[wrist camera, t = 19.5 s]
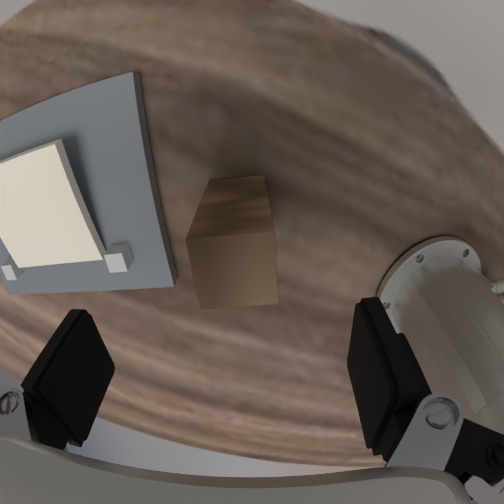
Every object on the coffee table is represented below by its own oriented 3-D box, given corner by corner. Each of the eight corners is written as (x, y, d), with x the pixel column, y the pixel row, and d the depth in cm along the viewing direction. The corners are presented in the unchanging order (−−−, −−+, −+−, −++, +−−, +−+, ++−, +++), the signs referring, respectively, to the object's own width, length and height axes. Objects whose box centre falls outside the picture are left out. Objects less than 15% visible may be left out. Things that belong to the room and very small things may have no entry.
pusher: (263, 174, 23) (274, 231, 14) (267, 224, 25) (278, 303, 16) (209, 180, 23) (185, 239, 14) (216, 229, 25) (200, 309, 16)
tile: (102, 259, 23) (106, 251, 24) (55, 143, 16) (61, 138, 17) (18, 267, 23) (23, 260, 24) (-30, 176, 17) (-24, 170, 17)
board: (139, 72, 19) (124, 70, 16) (177, 276, 27) (170, 297, 24) (-32, 140, 19) (-52, 148, 17) (15, 286, 28) (1, 303, 25)
